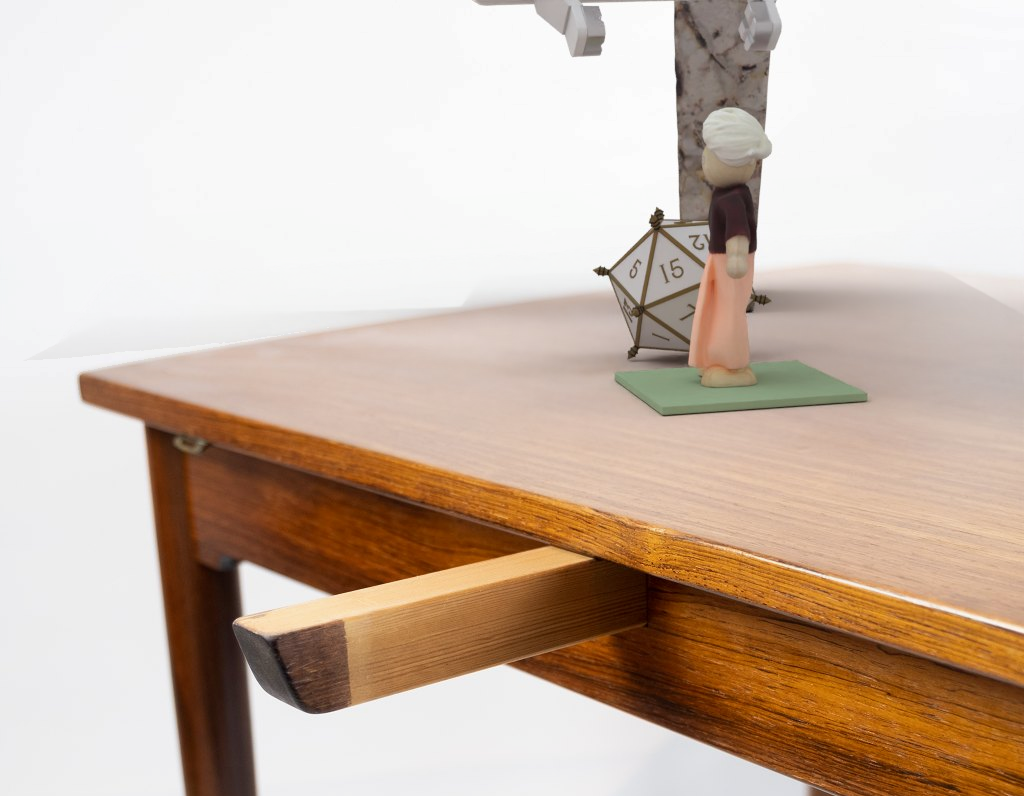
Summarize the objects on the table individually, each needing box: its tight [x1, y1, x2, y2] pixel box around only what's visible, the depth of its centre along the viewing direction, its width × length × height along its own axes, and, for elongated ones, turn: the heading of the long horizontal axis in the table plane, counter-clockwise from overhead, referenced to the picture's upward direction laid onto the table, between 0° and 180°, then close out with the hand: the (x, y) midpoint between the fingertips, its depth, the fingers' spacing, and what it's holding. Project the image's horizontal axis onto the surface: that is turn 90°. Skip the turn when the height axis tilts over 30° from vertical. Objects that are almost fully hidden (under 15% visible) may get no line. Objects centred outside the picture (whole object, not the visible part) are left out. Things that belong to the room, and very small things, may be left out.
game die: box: [592, 206, 772, 361], centre depth 83 cm, size 9×8×10 cm
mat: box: [613, 359, 869, 416], centre depth 75 cm, size 10×10×1 cm
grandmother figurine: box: [687, 108, 773, 388], centre depth 73 cm, size 8×4×13 cm, turn 5°
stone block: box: [673, 0, 771, 312], centre depth 103 cm, size 13×7×20 cm, turn 176°
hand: (678, 44), depth 77 cm, fingers open, 8 cm apart
